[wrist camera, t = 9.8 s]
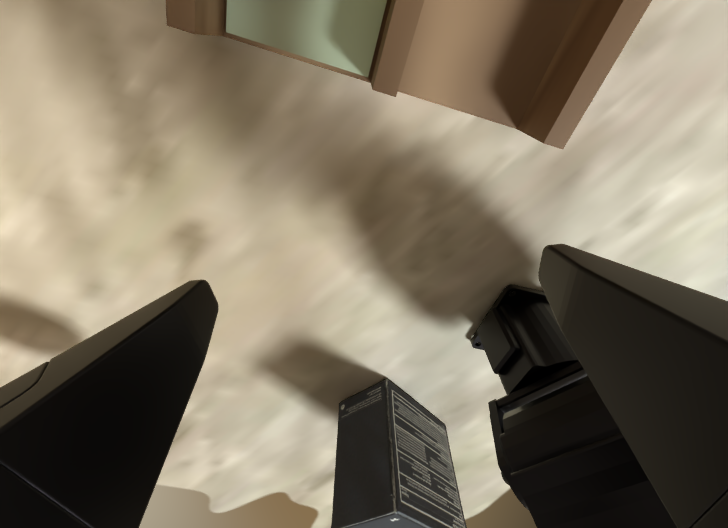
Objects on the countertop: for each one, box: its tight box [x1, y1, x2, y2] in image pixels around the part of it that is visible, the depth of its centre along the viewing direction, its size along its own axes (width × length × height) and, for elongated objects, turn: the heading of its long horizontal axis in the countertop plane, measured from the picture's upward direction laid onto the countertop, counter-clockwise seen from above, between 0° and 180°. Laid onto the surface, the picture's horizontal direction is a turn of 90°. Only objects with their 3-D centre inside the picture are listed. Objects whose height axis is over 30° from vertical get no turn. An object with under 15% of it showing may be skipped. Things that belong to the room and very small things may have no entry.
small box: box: [331, 379, 467, 528], centre depth 29 cm, size 11×6×10 cm, turn 40°
